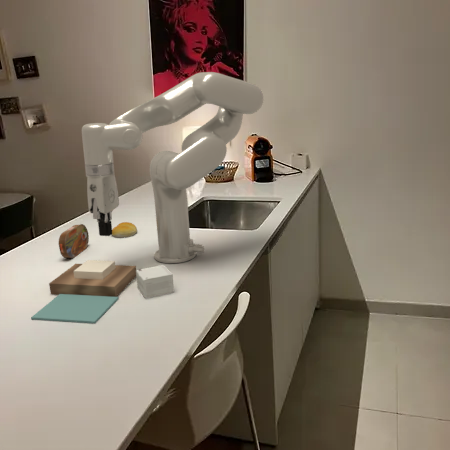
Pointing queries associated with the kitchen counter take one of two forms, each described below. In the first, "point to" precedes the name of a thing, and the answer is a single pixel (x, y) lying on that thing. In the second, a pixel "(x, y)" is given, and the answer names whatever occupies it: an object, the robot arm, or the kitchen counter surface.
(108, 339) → the kitchen counter surface
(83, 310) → the mat
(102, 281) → the board
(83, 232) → the tin
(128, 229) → the bread roll
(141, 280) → the small box
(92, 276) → the tile
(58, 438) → the kitchen counter surface
